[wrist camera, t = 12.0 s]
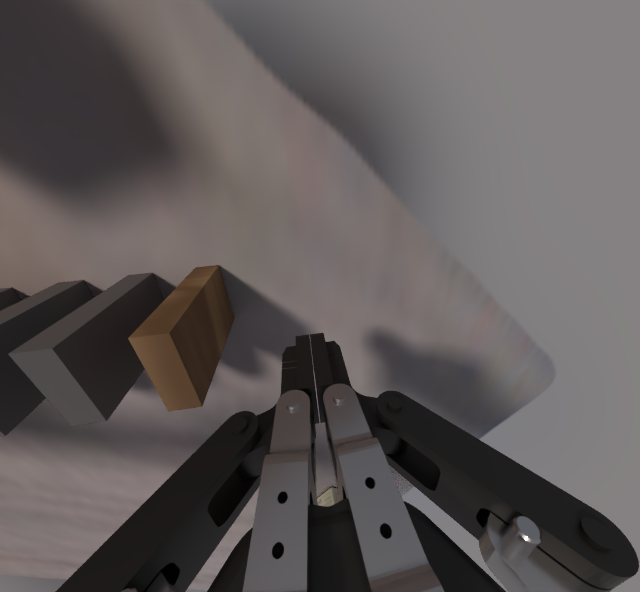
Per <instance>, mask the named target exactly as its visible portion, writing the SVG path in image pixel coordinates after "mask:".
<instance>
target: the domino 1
mask: <svg viewBox="0 0 640 592" xmlns="http://www.w3.org/2000/svg"><path fill="white" fill-rule="evenodd" d="M20 301H22V300H21V299H20V298H19V296H18V295H17V294H16V292H15V291H14V290H13V288H4V289H0V311H1V310H3V309H5V308H7V307H9V306H12V305H14V304H16V303H18V302H20Z"/></svg>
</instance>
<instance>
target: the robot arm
mask: <svg viewBox="0 0 640 592" xmlns="http://www.w3.org/2000/svg"><path fill="white" fill-rule="evenodd" d="M310 337H311V346H312V355H313V363H314V372H315V380H316V388H317V396H318V405H319V413H320V421H321V423H322V422H325V425H326V432H327V441H328V446H329V450H330V455H331V460H332V464H333V469H334V474H335V478H336V483H337V488H338V494H339V500H340V501H339V502H338V503H336V504H334V505H332V506H328V507H325V506H319V505H317V493H316V446H315V438H316V430H315V424H316V423H319V417H318V408H317V399H316V391H315V382H314V373H313V365H312V356H311V348H310V339H309V335H303V336H296V346H292V347H287V348H286V349H285V351H284V353H283V357H282V382H281V396H280V398H279V399H278V401H277V404H276V405H275V406H274V407H273V408H271V409H270V410H268V411H266V412H264V413H262V414H260V415H257V416H256V415H255V414H254V413H252V412H249V411H242V412H238V413H236V414H234V415H232V416H231V417H230V418H229V419H228V420H227V421H226V422H225V423H224V424H223V425H222V426H221V427H220V428H219V429H218V430H217V431H216V432H215V433H214V434H213V435H212V436H211V437H210V438H209V439H208V440H207V441H206V442H205V443H204V444H203V445H202V446H201V447H200V448H199V449H198V450H197V451H196V452H195V453H194V454H193V455H192V456H191V457H190V458H189V459H188V460H187V461H186V462H185V463H184V464H183V465H182V466H181V467H180V468H179V469H178V470H177V471H176V472H175V473H174V474H173V475H172V476H171V477H170V478H169V479H168V480H167V481H166V482H165V483H164V484H163V485H162V486H161V487H160V488H159V489H158V490H157V491H156V492H155V493H154V494H153V495H152V496H151V497H150V498H149V499H148V500H147V501H146V502H145V503H144V504H143V505H142V506H141V507H140V508H139V509H138V510H137V511H136V512H135V513H134V514H133V515H132V516H131V517H130V518H129V519H128V520H127V521H126V522H125V523H124V524H123V525H122V526H121V527H120V528H119V529H118V530H117V531H116V532H115V533H114V534H113V535H112V536H111V537H110V538H109V539H108V540H107V541H106V542H105V543H104V544H103V545H102V546H101V547H100V548H99V549H98V550H97V551H96V552H95V553H94V554H93V555H92V556H91V557H90V558H89V559H88V560H87V561H86V562H85V563H84V564H83V565H82V566H81V567H80V568H79V569H78V570H77V571H76V572H75V573H74V574H73V575H72V576H71V577H70V578H69V579H68V580H67V581H66V582H65V583H64V584H63V585H62V586H61V587H60V588H59V589H58V590H57V591H56V592H185V591H186V590H187V588H188V587H189V585H190V584H191V582H192V581H193V580H194V578H195V577H196V575H197V574H198V573H199V571H200V570H201V568H202V567H203V565H204V564H205V563H206V561H207V560H208V558H209V557H210V555H211V554H212V553H213V551H214V550H215V548H216V547H217V545H218V544H219V543H220V541H221V540H222V538H223V537H224V536H225V534H226V533H227V531H228V530H229V528H230V527H231V526H232V524H233V523H234V521H235V520H236V518H237V517H238V516H239V514H240V513H241V511H242V510H243V508H244V507H245V506H246V504H247V503H248V501H249V500H250V499H251V497H252V496H253V494H254V493H255V491H256V490H257V489H258V487H259V486H260V487H259V493H258V499H257V505H256V512H255V518H254V524H253V528H251V529H250V530H249V531H248V532H247V533H246V534H245V535H244V536H243V538H242V539H241V540H240V541H239V543H238V544H237V545H236V546H235V548H234V549H233V551H232V552H231V554H230V556H229V557H228V559H227V560H226V562H225V564H224V565H223V567H222V568H221V570H220V572H219V573H218V575H217V576H216V578H215V580H214V581H213V583H212V585H211V586H210V588H209V589H208V591H207V592H506V591H505V590H504V589H503V588H501V587H500V586H499V585H498V584H497V583H496V582H495V581H494V580H493V579H492V578H491V577H490V576H489V575H488V574H487V573H486V572H485V571H484V570H483V569H482V568H480V567H479V566H478V565H477V564H476V563H475V562H474V561H473V560H472V559H471V558H470V557H469V556H468V555H467V554H466V553H465V552H464V551H463V550H462V549H460V547H458V546H457V545H456V544H455V543H454V542H453V541H452V540H451V539H450V538H449V537H448V536H447V535H446V534H445V533H444V532H443V531H442V530H441V529H440V528H439V527H437V526H436V525H435V524H434V523H433V522H432V521H431V520H430V519H429V518H428V517H427V516H426V515H425V514H423V513H422V512H421V511H420V510H418V509H417V508H415V507H414V506H412V505H410V504H409V503H407V502H405V501H403V499H402V496H401V494H400V492H399V489H398V487H397V484H396V482H395V479H394V477H393V474H392V472H391V469H390V467H389V465H390V466H391V467H392V468H394V469H395V470H396V471H397V472H398V473H399V474H401V475H402V476H403V477H404V478H405V479H407V480H408V481H409V482H410V483H411V484H413V485H414V486H415V487H416V488H417V489H418V490H420V491H421V492H422V493H423V494H424V495H426V496H427V497H428V498H429V499H430V500H431V501H433V502H434V503H435V504H436V505H437V506H439V507H440V508H441V509H442V510H443V511H444V512H446V513H447V514H448V515H449V516H450V517H452V518H453V519H454V520H455V521H456V522H457V523H459V524H460V525H461V526H462V527H463V528H465V529H466V530H467V531H468V532H469V533H470V534H472V535H473V536H474V537H476V538H477V539H478V540H479V547H480V551H481V554H482V556H483V559H484V561H485V563H486V564H487V566H488V568H489V569H490V571H491V572H492V573H493V574H494V576H496V578H497V579H498V580H499V581H500V582H501V583H502V584H503V585H504V586H505V588H506V589H507V590H508V592H610V591H611V590H612V589H613V588H615V587H616V586H618V585H620V584H621V583H623V582H624V581H626V580H627V579H629V578H630V577H632V576H634V575H635V574H636V573H637V571H638V568H639V564H638V563H639V562H638V558H637V555H636V552H635V550H634V548H633V547H632V545H631V543H630V542H629V540H628V539H627V538H626V536H625V535H624V534H623V533H622V532H621V530H620V529H619V528H618V527H617V526H616V525H614V523H612V522H611V521H610V520H609V519H608V518H606V517H605V516H604V515H602V514H601V513H599V512H598V511H596V510H595V509H593V508H592V507H590V506H588V505H587V504H585V503H583V502H582V501H580V500H578V499H576V498H575V497H573V496H572V495H570V494H568V493H567V492H565V491H563V490H562V489H560V488H558V487H556V486H555V485H553V484H552V483H550V482H548V481H547V480H545V479H543V478H542V477H540V476H538V475H537V474H535V473H533V472H532V471H530V470H528V469H526V468H525V467H523V466H522V465H520V464H518V463H517V462H515V461H513V460H512V459H510V458H508V457H507V456H505V455H503V454H502V453H500V452H499V451H497V450H495V449H493V448H492V447H490V446H489V445H487V444H485V443H484V442H482V441H480V440H479V439H477V438H475V437H474V436H472V435H470V434H469V433H467V432H465V431H464V430H462V429H460V428H459V427H457V426H455V425H454V424H452V423H450V422H449V421H447V420H445V419H444V418H442V417H440V416H439V415H437V414H435V413H434V412H432V411H430V410H429V409H427V408H425V407H424V406H422V405H420V404H419V403H417V402H415V401H414V400H412V399H411V398H409V397H407V396H406V395H404V394H402V393H400V392H397V391H386V392H383V393H382V394H380V395H379V397H378V398H374V397H367V396H364V395H361V394H359V393H357V392H356V391H355V390H354V389H353V388H352V386H351V384H350V381H349V377H348V374H347V370H346V367H345V363H344V360H343V356H342V353H341V349H340V346H339V345H338V344H337V343H336V342H335V341H330V342H325V338H324V333H318V334H310ZM388 464H389V465H388Z"/></svg>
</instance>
